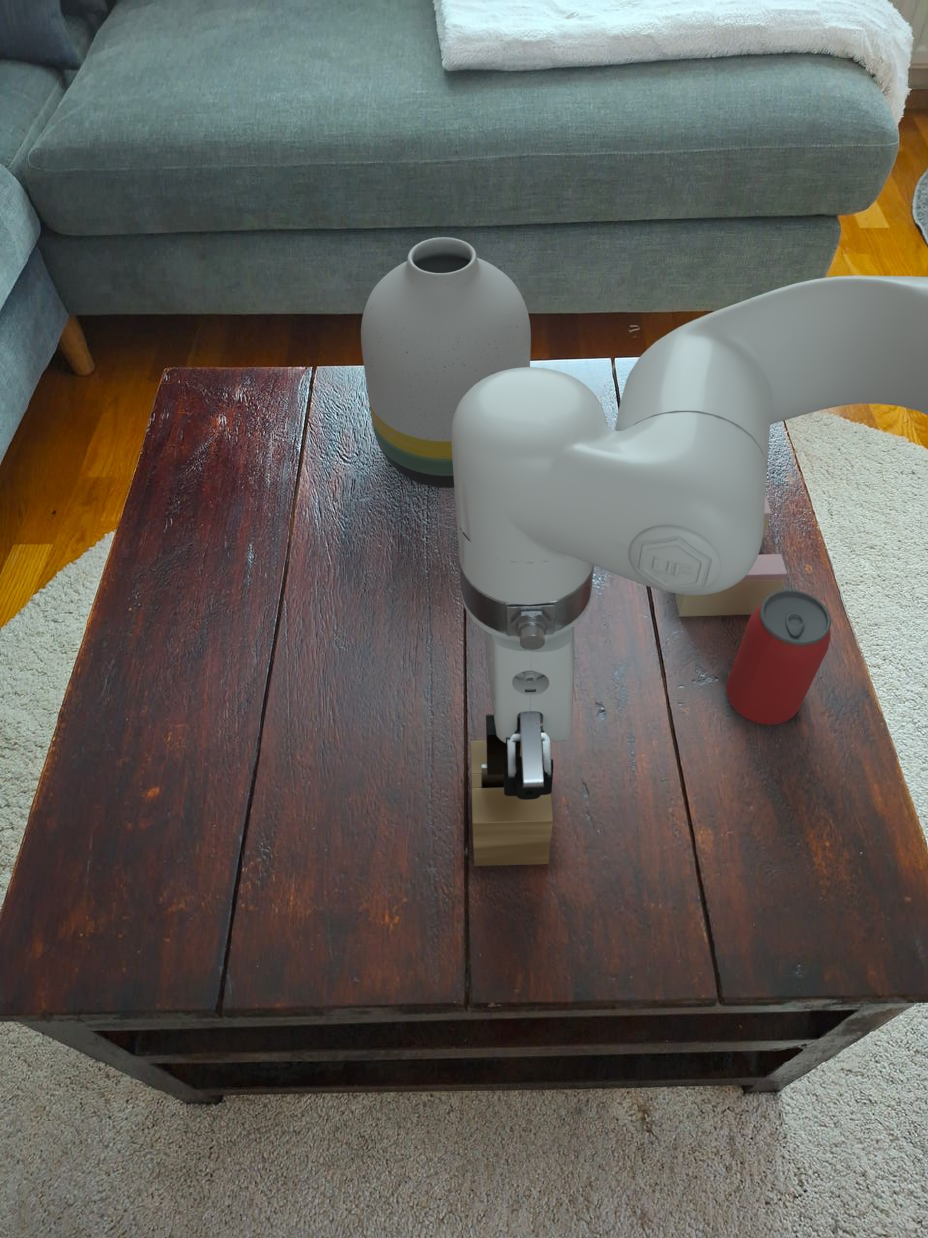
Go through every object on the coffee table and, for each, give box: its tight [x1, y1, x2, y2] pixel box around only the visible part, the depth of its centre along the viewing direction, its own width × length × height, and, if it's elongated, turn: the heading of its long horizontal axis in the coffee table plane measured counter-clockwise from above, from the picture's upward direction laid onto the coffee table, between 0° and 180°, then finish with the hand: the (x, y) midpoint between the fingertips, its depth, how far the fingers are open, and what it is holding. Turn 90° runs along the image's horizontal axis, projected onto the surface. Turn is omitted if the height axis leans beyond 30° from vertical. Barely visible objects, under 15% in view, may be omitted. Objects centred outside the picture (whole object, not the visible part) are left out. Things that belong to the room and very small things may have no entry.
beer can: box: [725, 589, 832, 726], centre depth 80 cm, size 7×7×12 cm
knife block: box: [469, 740, 554, 867], centre depth 74 cm, size 7×6×8 cm
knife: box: [481, 714, 521, 788], centre depth 71 cm, size 2×3×16 cm, turn 91°
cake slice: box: [674, 553, 788, 617], centre depth 89 cm, size 2×9×6 cm, turn 91°
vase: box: [360, 236, 532, 489], centre depth 96 cm, size 17×17×24 cm
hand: (523, 730), depth 67 cm, fingers open, 9 cm apart
